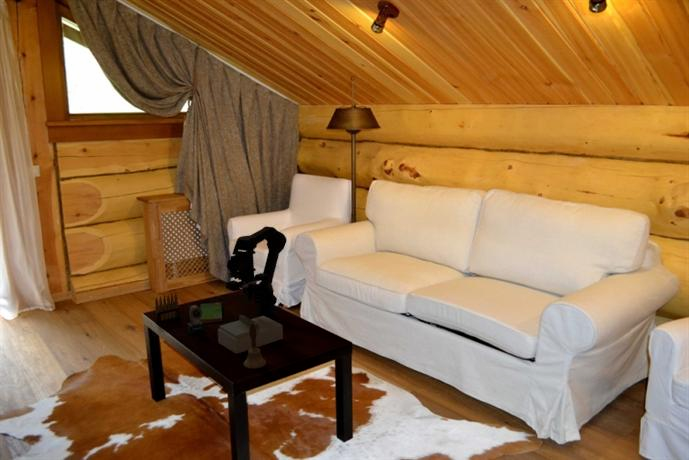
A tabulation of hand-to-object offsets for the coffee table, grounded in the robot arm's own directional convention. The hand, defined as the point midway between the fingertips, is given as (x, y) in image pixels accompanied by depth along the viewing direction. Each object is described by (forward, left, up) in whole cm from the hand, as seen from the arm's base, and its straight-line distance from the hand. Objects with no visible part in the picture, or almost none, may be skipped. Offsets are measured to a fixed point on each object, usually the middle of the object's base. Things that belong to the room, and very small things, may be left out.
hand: (248, 300), depth 248 cm
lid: (+13, +14, -6) cm, 19 cm away
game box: (+6, -25, -13) cm, 28 cm away
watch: (+20, -11, -12) cm, 26 cm away
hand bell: (+18, +33, -12) cm, 39 cm away
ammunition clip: (+24, -30, -12) cm, 41 cm away
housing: (+8, +14, -12) cm, 20 cm away
